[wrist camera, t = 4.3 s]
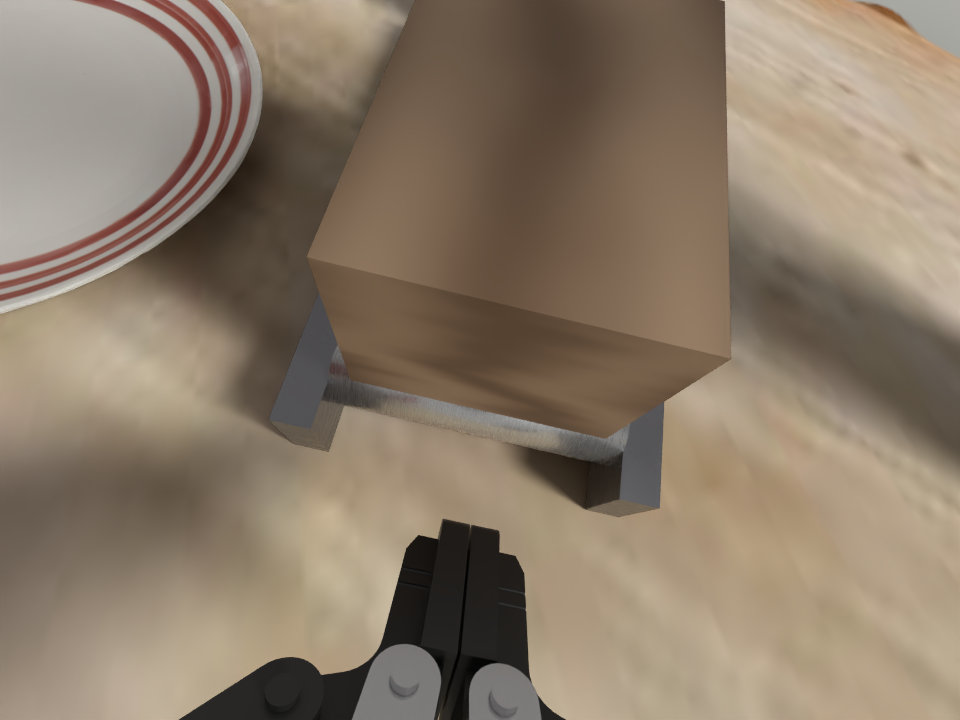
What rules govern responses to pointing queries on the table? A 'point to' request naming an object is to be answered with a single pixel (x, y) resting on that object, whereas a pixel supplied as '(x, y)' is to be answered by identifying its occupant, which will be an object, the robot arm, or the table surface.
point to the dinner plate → (113, 131)
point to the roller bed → (464, 423)
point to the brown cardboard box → (538, 211)
